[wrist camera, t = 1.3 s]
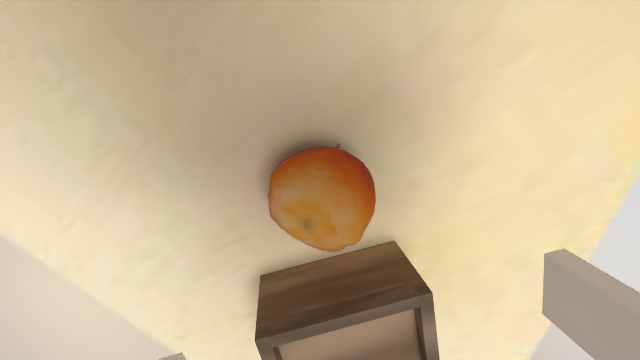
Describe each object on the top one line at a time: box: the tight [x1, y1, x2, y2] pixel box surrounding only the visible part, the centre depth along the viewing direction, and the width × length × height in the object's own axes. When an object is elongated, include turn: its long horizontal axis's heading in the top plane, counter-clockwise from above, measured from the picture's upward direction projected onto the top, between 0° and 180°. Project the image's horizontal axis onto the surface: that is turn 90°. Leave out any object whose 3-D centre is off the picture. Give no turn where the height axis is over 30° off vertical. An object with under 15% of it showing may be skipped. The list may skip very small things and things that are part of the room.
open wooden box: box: [255, 241, 439, 360], centre depth 27 cm, size 13×13×8 cm
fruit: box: [268, 143, 376, 252], centre depth 24 cm, size 8×8×8 cm
